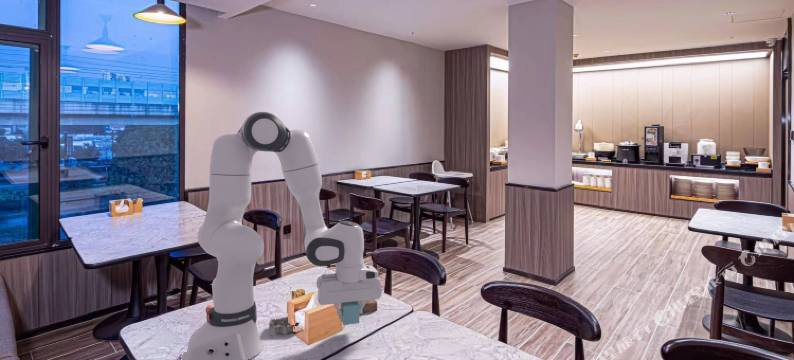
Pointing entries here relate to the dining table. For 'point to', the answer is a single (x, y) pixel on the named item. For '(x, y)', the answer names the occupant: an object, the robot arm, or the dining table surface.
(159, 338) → the dining table surface
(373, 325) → the dining table surface
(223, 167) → the robot arm
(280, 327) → the egg carton
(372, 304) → the walnut plinth
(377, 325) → the dining table surface
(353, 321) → the teal block
